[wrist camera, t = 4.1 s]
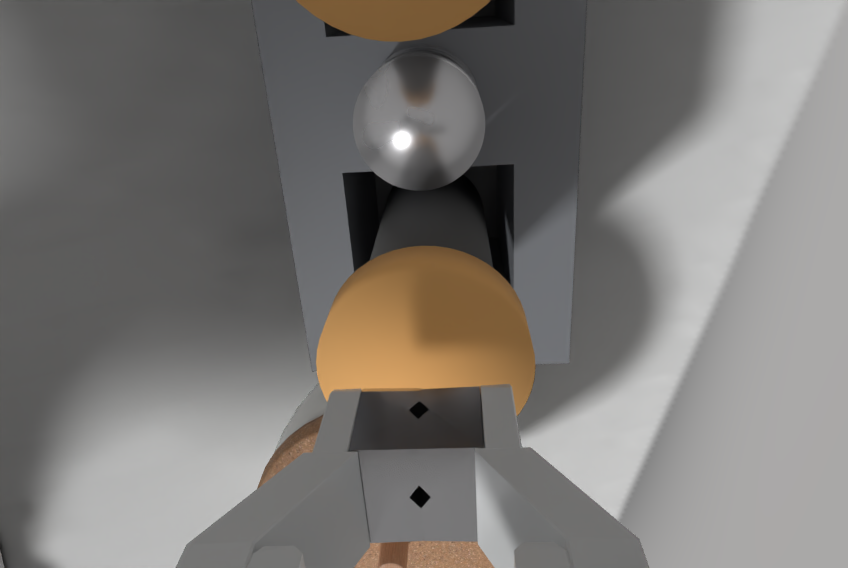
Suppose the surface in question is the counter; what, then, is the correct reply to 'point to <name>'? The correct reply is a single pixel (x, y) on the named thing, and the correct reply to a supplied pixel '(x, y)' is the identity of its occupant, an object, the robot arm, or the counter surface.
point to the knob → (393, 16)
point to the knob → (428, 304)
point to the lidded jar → (383, 562)
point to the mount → (490, 173)
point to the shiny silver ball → (420, 119)
